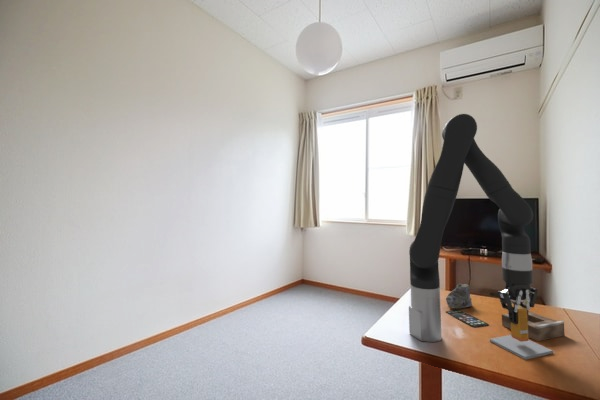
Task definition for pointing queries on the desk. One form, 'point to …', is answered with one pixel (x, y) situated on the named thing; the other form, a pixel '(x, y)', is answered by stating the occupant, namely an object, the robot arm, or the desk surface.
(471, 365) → the desk surface
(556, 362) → the desk surface
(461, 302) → the mineral rock
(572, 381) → the desk surface
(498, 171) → the robot arm
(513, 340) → the mat
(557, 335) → the box
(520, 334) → the supplement box
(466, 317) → the smartphone
